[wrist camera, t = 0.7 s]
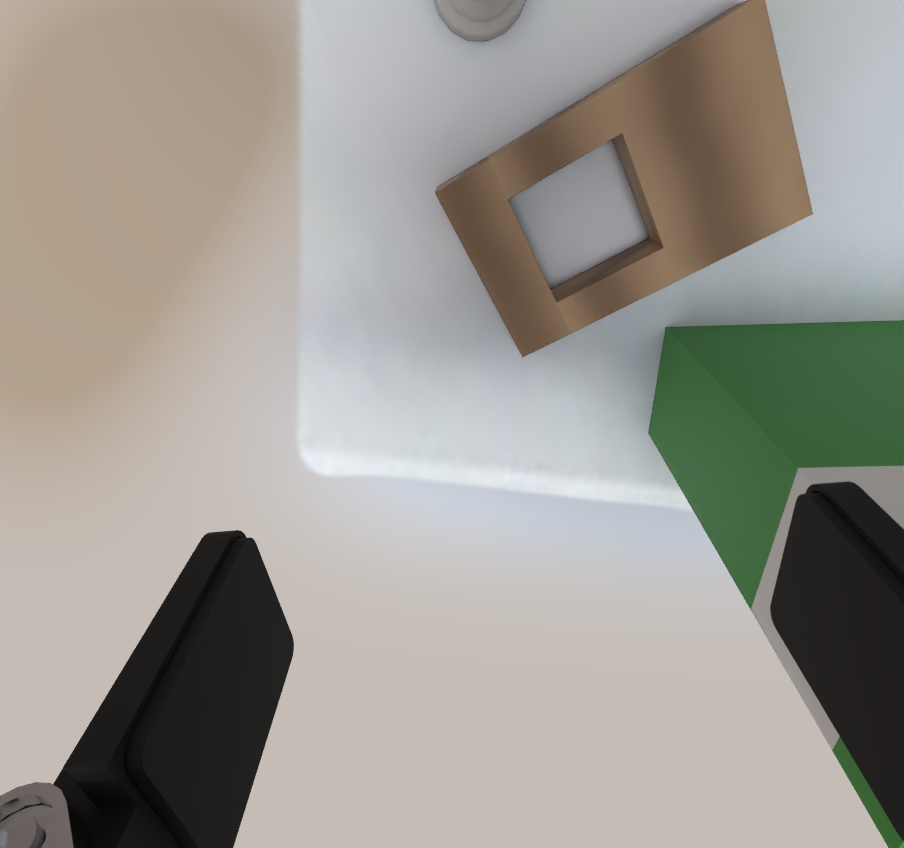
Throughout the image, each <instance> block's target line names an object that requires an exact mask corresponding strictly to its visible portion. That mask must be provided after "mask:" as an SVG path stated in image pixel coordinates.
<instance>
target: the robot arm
mask: <svg viewBox="0 0 904 848" xmlns="http://www.w3.org/2000/svg"><path fill="white" fill-rule="evenodd" d="M770 614H771V618H772V621H773V624H774V626H775V628H776V630H777V632H778V634H779V635H780V637H781V639H782V640H783V642H784V644H785V645H786V647H787V649H788V650H789V652H790V654H791V655H792V657H793V659H794V660H795V662H796V664H797V665H798V667H799V669H800V670H801V672H802V674H803V676H804V677H805V679H806V681H807V682H808V684H809V686H810V687H811V689H812V691H813V692H814V694H815V696H816V697H817V699H818V701H819V702H820V704H821V706H822V707H823V709H824V711H825V713H826V714H827V716H828V718H829V719H830V721H831V723H832V724H833V726H834V728H835V729H836V731H837V733H838V734H839V736H840V738H841V739H842V741H843V743H844V744H845V746H846V748H847V749H848V751H849V753H850V755H851V756H852V758H853V760H854V761H855V763H856V765H857V766H858V768H859V770H860V771H861V773H862V775H863V776H864V778H865V780H866V781H867V783H868V785H869V786H870V788H871V790H872V792H873V793H874V795H875V797H876V798H877V800H878V802H879V803H880V805H881V807H882V808H883V810H884V812H885V813H886V815H887V817H888V818H889V820H890V822H891V823H892V825H893V827H894V829H895V830H896V832H897V833H898V835H899V836H900V838H901V839H902V840H903V841H904V529H903V528H902V527H901V526H900V525H899V524H898V523H897V522H896V521H895V520H894V519H893V518H892V517H891V516H890V515H889V514H888V513H887V512H885V511H884V510H883V509H882V508H881V507H880V506H879V505H878V504H877V503H876V502H875V501H874V500H873V499H872V498H871V497H870V496H869V495H868V494H867V493H866V492H865V491H864V490H863V489H862V488H861V487H860V486H858V485H857V484H855V483H854V482H850V481H846V482H833V483H821V484H813V485H810V486H809V487H808V488H807V491H806V493H805V494H800V495H799V496H798V497H797V500H796V503H795V507H794V511H793V515H792V519H791V523H790V527H789V531H788V535H787V539H786V543H785V547H784V551H783V556H782V560H781V564H780V568H779V572H778V576H777V580H776V584H775V588H774V592H773V596H772V600H771V605H770ZM293 647H294V643H293V637H292V634H291V631H290V629H289V626H288V624H287V621H286V619H285V616H284V613H283V611H282V608H281V606H280V603H279V601H278V598H277V596H276V593H275V591H274V588H273V585H272V583H271V580H270V578H269V576H268V573H267V570H266V568H265V565H264V563H263V560H262V558H261V555H260V552H259V550H258V547H257V545H256V543H255V541H254V539H252V538H246V536H245V534H244V533H243V532H242V531H238V530H237V531H224V532H212V533H207V534H206V535H204V537H203V538H202V539H201V541H200V543H199V544H198V546H197V547H196V549H195V551H194V552H193V554H192V556H191V557H190V559H189V561H188V562H187V564H186V566H185V568H184V569H183V571H182V572H181V574H180V575H179V577H178V579H177V581H176V582H175V584H174V585H173V587H172V589H171V590H170V592H169V594H168V595H167V597H166V599H165V600H164V602H163V604H162V605H161V607H160V609H159V610H158V612H157V613H156V615H155V617H154V618H153V620H152V622H151V623H150V625H149V627H148V628H147V630H146V632H145V633H144V635H143V636H142V638H141V640H140V641H139V643H138V645H137V646H136V648H135V650H134V651H133V653H132V655H131V656H130V658H129V660H128V661H127V663H126V665H125V666H124V668H123V670H122V671H121V673H120V674H119V676H118V678H117V680H116V681H115V683H114V685H113V686H112V688H111V689H110V691H109V693H108V694H107V696H106V698H105V699H104V701H103V703H102V704H101V706H100V708H99V709H98V711H97V712H96V714H95V716H94V717H93V719H92V721H91V722H90V724H89V726H88V727H87V729H86V731H85V732H84V734H83V736H82V737H81V739H80V741H79V742H78V744H77V746H76V747H75V749H74V751H73V752H72V754H71V755H70V757H69V759H68V760H67V762H66V764H65V765H64V767H63V769H62V771H61V772H60V774H59V776H58V777H57V779H56V781H55V782H54V784H51V783H39V782H35V783H32V784H27V785H24V786H20V787H17V788H15V789H13V790H11V791H9V792H7V793H5V794H3V795H1V796H0V848H233V846H234V843H235V840H236V837H237V833H238V830H239V827H240V824H241V820H242V817H243V814H244V811H245V808H246V804H247V801H248V798H249V794H250V792H251V788H252V785H253V782H254V779H255V776H256V772H257V769H258V766H259V763H260V760H261V756H262V753H263V750H264V747H265V743H266V740H267V737H268V734H269V730H270V727H271V724H272V721H273V718H274V715H275V711H276V708H277V705H278V701H279V699H280V695H281V692H282V689H283V685H284V683H285V679H286V676H287V673H288V670H289V666H290V663H291V660H292V656H293V650H294V648H293Z"/></svg>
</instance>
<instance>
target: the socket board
mask: <svg viewBox="0 0 904 848" xmlns="http://www.w3.org/2000/svg"><path fill="white" fill-rule="evenodd" d="M611 139H613V141H614V144H615V146H616V149H617V152H618V154H619V157H620V160H621V163H622V165H623V168H624V171H625V173H626V176H627V179H628V181H629V184H630V187H631V190H632V192H633V195H634V198H635V200H636V203H637V206H638V209H639V211H640V214H641V217H642V219H643V222H644V225H645V227H646V230H647V233H648V236H649V238H648V239H646V240H644V241H643V242H641V243H639V244H637V245H635V246H633V247H631V248H629V249H627V250H625V251H623V252H621V253H620V254H618V255H616V256H614V257H612V258H610V259H608V260H606V261H604V262H602V263H600V264H599V265H597V266H595V267H593V268H591V269H589V270H587V271H585V272H583V273H581V274H579V275H577V276H576V277H574V278H572V279H570V280H568V281H566V282H564V283H562V284H560V285H558V286H556V287H554V288H553V289H551V290H550V288H549V286H548V284H547V281H546V279H545V277H544V275H543V273H542V271H541V269H540V267H539V265H538V263H537V260H536V258H535V256H534V254H533V252H532V250H531V248H530V246H529V244H528V242H527V239H526V237H525V235H524V233H523V231H522V229H521V227H520V225H519V223H518V220H517V218H516V216H515V214H514V212H513V210H512V208H511V206H510V204H509V202H508V199H509V198H511V197H513V196H514V195H516V194H518V193H520V192H521V191H523V190H525V189H526V188H528V187H530V186H532V185H533V184H535V183H537V182H539V181H540V180H542V179H544V178H545V177H547V176H549V175H551V174H552V173H554V172H556V171H558V170H559V169H561V168H563V167H564V166H566V165H568V164H570V163H571V162H573V161H575V160H576V159H578V158H580V157H582V156H583V155H585V154H587V153H589V152H590V151H592V150H594V149H595V148H597V147H599V146H601V145H602V144H604V143H606V142H607V141H609V140H611ZM435 194H436V196H437V198H438V200H439V201H440V203H441V205H442V207H443V209H444V211H445V213H446V215H447V216H448V218H449V220H450V222H451V224H452V226H453V228H454V230H455V231H456V233H457V235H458V237H459V239H460V241H461V243H462V245H463V246H464V248H465V250H466V252H467V254H468V256H469V258H470V260H471V261H472V263H473V265H474V267H475V269H476V271H477V273H478V275H479V276H480V278H481V280H482V282H483V284H484V286H485V288H486V290H487V291H488V293H489V295H490V297H491V299H492V301H493V303H494V305H495V306H496V308H497V310H498V312H499V314H500V316H501V318H502V320H503V321H504V323H505V325H506V327H507V329H508V331H509V333H510V335H511V336H512V338H513V340H514V342H515V344H516V346H517V348H518V350H519V351H520V353H521V355H522V357H524V356H526V355H528V354H530V353H533V352H535V351H537V350H539V349H541V348H543V347H545V346H547V345H549V344H551V343H553V342H555V341H557V340H559V339H561V338H563V337H565V336H567V335H569V334H571V333H573V332H575V331H577V330H579V329H581V328H583V327H585V326H587V325H589V324H591V323H593V322H595V321H597V320H599V319H601V318H603V317H605V316H607V315H609V314H611V313H613V312H615V311H617V310H619V309H621V308H623V307H625V306H627V305H629V304H632V303H634V302H636V301H638V300H640V299H642V298H644V297H646V296H648V295H650V294H652V293H654V292H656V291H658V290H660V289H662V288H664V287H666V286H668V285H670V284H672V283H674V282H676V281H678V280H680V279H682V278H684V277H686V276H688V275H690V274H692V273H694V272H696V271H698V270H700V269H702V268H704V267H706V266H708V265H710V264H712V263H714V262H716V261H718V260H720V259H722V258H724V257H726V256H729V255H731V254H733V253H735V252H737V251H739V250H741V249H743V248H745V247H747V246H749V245H751V244H753V243H755V242H757V241H759V240H761V239H763V238H765V237H767V236H769V235H771V234H773V233H775V232H777V231H779V230H781V229H783V228H785V227H787V226H789V225H791V224H793V223H795V222H797V221H799V220H801V219H803V218H805V217H807V216H809V215H811V214H813V212H812V208H811V203H810V199H809V194H808V190H807V185H806V181H805V176H804V172H803V168H802V163H801V159H800V154H799V150H798V145H797V141H796V136H795V132H794V127H793V123H792V119H791V114H790V110H789V105H788V101H787V96H786V92H785V87H784V83H783V78H782V74H781V70H780V65H779V61H778V56H777V52H776V47H775V43H774V38H773V34H772V29H771V25H770V21H769V16H768V12H767V7H766V3H765V0H747V1H745V2H742V3H739V4H737V5H736V6H734V7H732V8H731V9H729V10H727V11H726V12H724V13H722V14H721V15H719V16H717V17H716V18H714V19H713V20H711V21H709V22H708V23H706V24H704V25H703V26H701V27H699V28H698V29H696V30H694V31H693V32H691V33H690V34H688V35H686V36H685V37H683V38H681V39H680V40H678V41H676V42H675V43H673V44H671V45H670V46H668V47H667V48H665V49H663V50H662V51H660V52H658V53H657V54H655V55H653V56H652V57H650V58H648V59H647V60H645V61H644V62H642V63H640V64H639V65H637V66H635V67H634V68H632V69H630V70H629V71H627V72H625V73H624V74H622V75H621V76H619V77H617V78H616V79H614V80H612V81H611V82H609V83H607V84H606V85H604V86H602V87H601V88H599V89H598V90H596V91H594V92H593V93H591V94H589V95H588V96H586V97H584V98H583V99H581V100H579V101H578V102H576V103H575V104H573V105H571V106H570V107H568V108H566V109H565V110H563V111H561V112H560V113H558V114H557V115H555V116H553V117H552V118H550V119H548V120H547V121H545V122H543V123H542V124H540V125H538V126H537V127H535V128H534V129H532V130H530V131H529V132H527V133H525V134H524V135H522V136H520V137H519V138H517V139H515V140H514V141H512V142H511V143H509V144H507V145H506V146H504V147H502V148H501V149H499V150H497V151H496V152H494V153H492V154H491V155H489V156H488V157H486V158H484V159H483V160H481V161H479V162H478V163H476V164H474V165H473V166H471V167H469V168H468V169H466V170H465V171H463V172H461V173H460V174H458V175H456V176H455V177H453V178H451V179H450V180H448V181H446V182H445V183H443V184H442V185H440V186H438V187H437V189H436V192H435Z"/></svg>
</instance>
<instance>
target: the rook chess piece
mask: <svg viewBox="0 0 904 848" xmlns="http://www.w3.org/2000/svg"><path fill="white" fill-rule="evenodd" d="M525 1H526V0H434V2H435V5H436V8H437V11H438V14H439V16H440V17H441V19H442V20H443V21H444V22H445V24H446V25H447V26H448V27H449V29H450V30H451V31H452V32H454V33H456V34H458V35H460V36H461V37H463V38H465V39H467V40H474V41H488V40H490V39H492V38H494V37H496V36H498V35H500V34H503V33H505V32H506V31H507V30H508V28H509V27H510V26H511V25H512V24H513V23H514V22H515V20H516V19H517V18H518V17H519V16H520V13H521V11H522V8H523V6H524V3H525Z"/></svg>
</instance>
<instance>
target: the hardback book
mask: <svg viewBox="0 0 904 848" xmlns="http://www.w3.org/2000/svg"><path fill="white" fill-rule="evenodd" d="M648 433H649V435H650V436H651V438H652V440H653V442H654V443H655V445H656V447H657V449H658V450H659V452H660V454H661V455H662V457H663V459H664V461H665V462H666V464H667V466H668V468H669V469H670V471H671V473H672V474H673V476H674V478H675V480H676V481H677V483H678V485H679V487H680V488H681V490H682V492H683V493H684V495H685V497H686V499H687V500H688V502H689V504H690V506H691V507H692V509H693V511H694V512H695V514H696V516H697V518H698V519H699V521H700V523H701V525H702V526H703V528H704V530H705V531H706V533H707V535H708V536H709V538H710V540H711V542H712V544H713V545H714V547H715V549H716V550H717V552H718V554H719V556H720V557H721V559H722V561H723V562H724V564H725V566H726V568H727V569H728V571H729V573H730V575H731V576H732V578H733V580H734V582H735V583H736V585H737V587H738V588H739V590H740V592H741V594H742V595H743V597H744V599H745V600H746V602H747V604H748V606H749V607H750V609H751V611H752V613H753V614H754V616H755V618H756V620H757V621H758V623H759V624H760V626H761V628H762V630H763V632H764V633H765V635H766V637H767V639H768V640H769V642H770V644H771V645H772V647H773V649H774V650H775V652H776V654H777V656H778V658H779V659H780V661H781V663H782V664H783V666H784V668H785V670H786V671H787V673H788V675H789V677H790V678H791V680H792V682H793V683H794V685H795V687H796V688H797V690H798V692H799V694H800V696H801V697H802V699H803V701H804V702H805V704H806V706H807V708H808V709H809V711H810V713H811V715H812V716H813V718H814V720H815V721H816V723H817V725H818V727H819V728H820V730H821V732H822V733H823V735H824V737H825V738H826V740H827V742H828V744H829V745H830V747H831V749H832V751H833V753H834V754H835V756H836V758H837V759H838V761H839V763H840V765H841V766H842V768H843V770H844V771H845V773H846V775H847V777H848V778H849V780H850V782H851V784H852V785H853V787H854V789H855V790H856V792H857V794H858V796H859V797H860V799H861V801H862V803H863V804H864V806H865V808H866V809H867V811H868V813H869V814H870V816H871V818H872V820H873V822H874V823H875V825H876V827H877V829H878V830H879V832H880V834H881V835H882V837H883V839H884V840H885V842H886V844H887V846H888V847H889V848H904V841H903V840H902V839H901V838H900V836H899V835H898V833H897V832H896V830H895V829H894V827H893V825H892V823H891V822H890V820H889V818H888V817H887V815H886V813H885V812H884V810H883V808H882V807H881V805H880V803H879V802H878V800H877V798H876V797H875V795H874V793H873V792H872V790H871V788H870V786H869V785H868V783H867V781H866V780H865V778H864V776H863V775H862V773H861V771H860V770H859V768H858V766H857V765H856V763H855V761H854V760H853V758H852V756H851V755H850V753H849V751H848V749H847V748H846V746H845V744H844V743H843V741H842V739H841V738H840V736H839V734H838V733H837V731H836V729H835V728H834V726H833V724H832V723H831V721H830V719H829V718H828V716H827V714H826V713H825V711H824V709H823V707H822V706H821V704H820V702H819V701H818V699H817V697H816V696H815V694H814V692H813V691H812V689H811V687H810V686H809V684H808V682H807V681H806V679H805V677H804V676H803V674H802V672H801V670H800V669H799V667H798V665H797V664H796V662H795V660H794V659H793V657H792V655H791V654H790V652H789V650H788V649H787V647H786V645H785V644H784V642H783V640H782V639H781V637H780V635H779V634H778V632H777V630H776V628H775V626H774V624H773V621H772V618H771V614H770V605H771V600H772V596H773V592H774V588H775V584H776V580H777V576H778V572H779V568H780V564H781V560H782V556H783V551H784V547H785V543H786V539H787V535H788V531H789V527H790V523H791V519H792V515H793V511H794V507H795V503H796V500H797V497H798V496H799V495H800V494H805V493H806V491H807V488H808V487H809V486H810V485H813V484H821V483H833V482H846V481H850V482H854V483H855V484H857V485H858V486H860V487H861V488H862V489H863V490H864V491H865V492H866V493H867V494H868V495H869V496H870V497H871V498H872V499H873V500H874V501H875V502H876V503H877V504H878V505H879V506H880V507H881V508H882V509H883V510H884V511H885V512H887V513H888V514H889V515H890V516H891V517H892V518H893V519H894V520H895V521H896V522H897V523H898V524H899V525H900V526H901V527H902V528H903V529H904V320H903V321H867V322H832V323H797V324H762V325H727V326H691V327H666V329H665V335H664V341H663V347H662V353H661V360H660V366H659V372H658V378H657V384H656V390H655V396H654V402H653V408H652V414H651V420H650V426H649V432H648Z"/></svg>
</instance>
